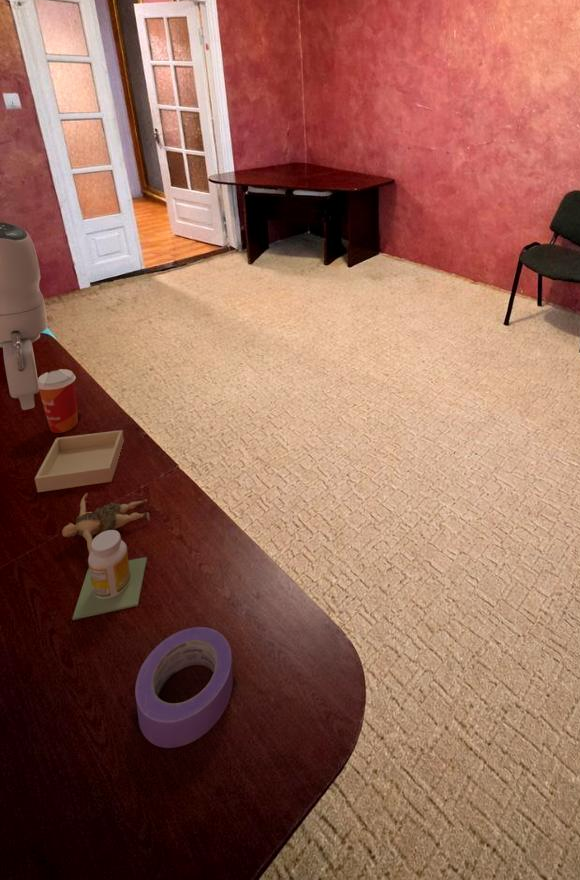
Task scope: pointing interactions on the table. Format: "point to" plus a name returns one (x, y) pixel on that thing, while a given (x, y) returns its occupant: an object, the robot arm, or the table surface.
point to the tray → (80, 461)
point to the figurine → (102, 520)
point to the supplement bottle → (108, 565)
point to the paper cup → (59, 399)
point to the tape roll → (196, 714)
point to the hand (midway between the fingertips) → (26, 393)
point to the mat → (126, 599)
